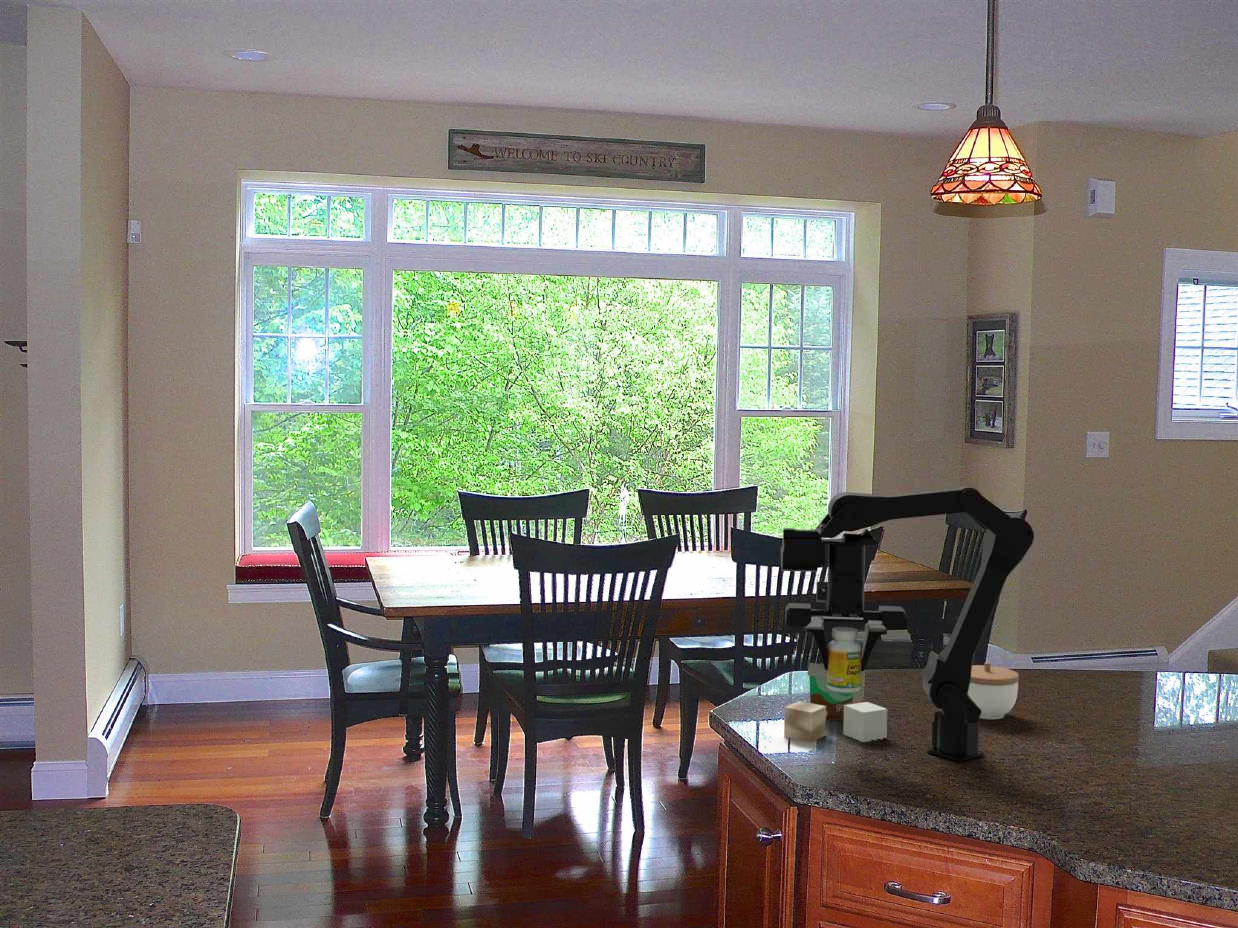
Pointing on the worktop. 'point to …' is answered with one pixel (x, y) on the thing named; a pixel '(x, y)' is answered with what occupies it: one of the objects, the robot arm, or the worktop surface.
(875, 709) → the white cube
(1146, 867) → the worktop surface
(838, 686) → the supplement bottle
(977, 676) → the lidded jar
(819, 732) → the maple block
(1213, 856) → the worktop surface
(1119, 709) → the worktop surface
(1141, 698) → the worktop surface
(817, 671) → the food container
